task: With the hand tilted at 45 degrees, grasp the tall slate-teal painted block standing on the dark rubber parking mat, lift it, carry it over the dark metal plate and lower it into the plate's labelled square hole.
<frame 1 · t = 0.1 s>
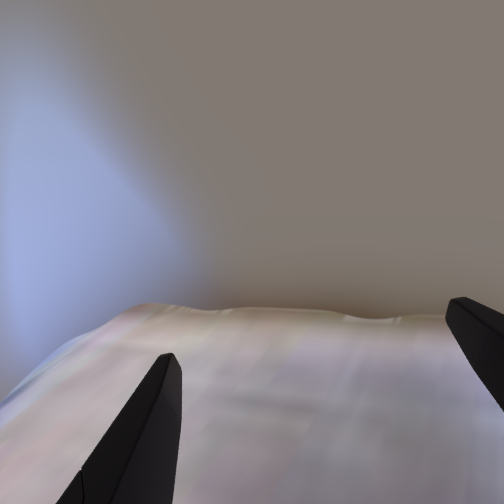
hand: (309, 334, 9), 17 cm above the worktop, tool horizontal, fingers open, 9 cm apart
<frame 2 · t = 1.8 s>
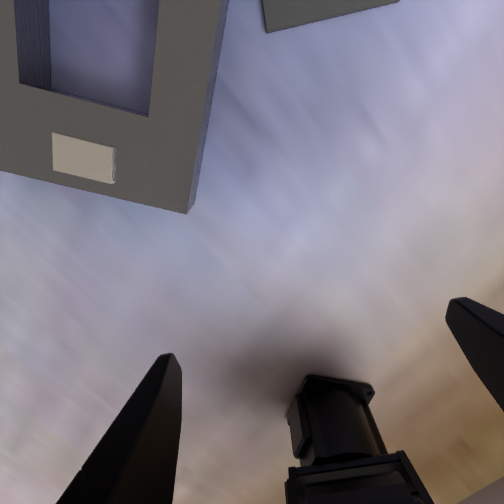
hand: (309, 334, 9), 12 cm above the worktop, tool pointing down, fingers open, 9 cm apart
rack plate: (110, 39, 16), on the worktop
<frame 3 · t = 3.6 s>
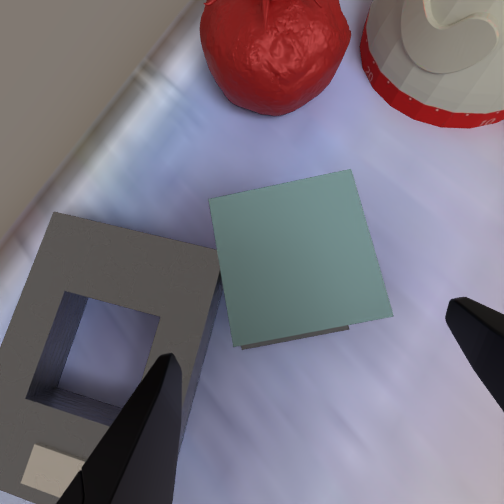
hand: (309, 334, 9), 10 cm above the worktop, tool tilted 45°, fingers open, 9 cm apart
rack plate: (116, 351, 20), on the worktop
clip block: (283, 285, 19), resting on parking mat
kitchen timer: (449, 51, 23), on the worktop
pomegranate: (273, 80, 23), on the worktop
parking mat: (283, 286, 20), on the worktop
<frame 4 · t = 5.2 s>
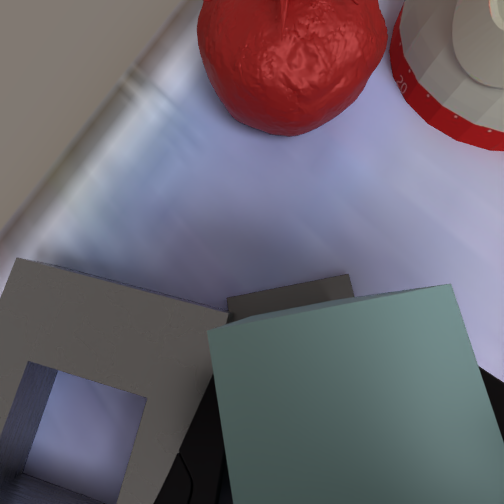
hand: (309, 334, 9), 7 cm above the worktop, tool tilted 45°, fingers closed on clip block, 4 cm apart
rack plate: (94, 428, 16), on the worktop
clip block: (300, 349, 16), resting on parking mat, touching gripper
kitchen timer: (498, 56, 19), on the worktop
pomegranate: (285, 90, 19), on the worktop
parking mat: (300, 348, 16), on the worktop
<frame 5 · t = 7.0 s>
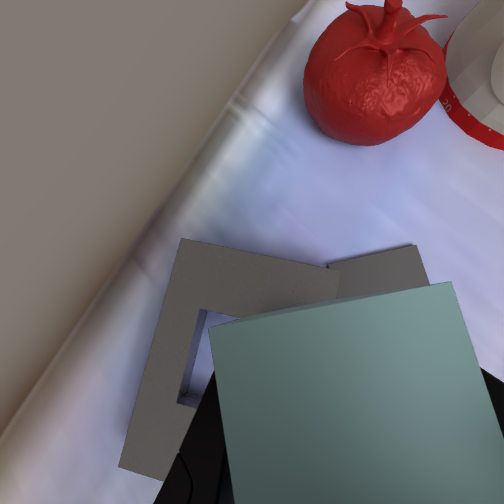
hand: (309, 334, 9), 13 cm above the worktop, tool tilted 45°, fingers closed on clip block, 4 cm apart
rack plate: (237, 359, 22), on the worktop
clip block: (301, 349, 16), point 7 cm above the worktop, touching gripper
pomegranate: (356, 111, 26), on the worktop
parking mat: (383, 298, 22), on the worktop
when the fingers open (9 cm above the worktop, at t = 8.9 s): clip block drops 2 cm, resting in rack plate.
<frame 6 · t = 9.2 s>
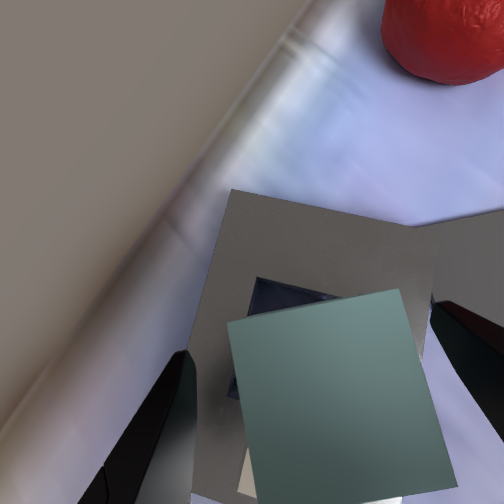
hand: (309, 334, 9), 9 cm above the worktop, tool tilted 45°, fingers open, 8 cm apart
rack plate: (297, 344, 18), on the worktop
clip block: (297, 343, 18), resting in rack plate
pomegranate: (439, 48, 21), on the worktop
parking mat: (483, 272, 18), on the worktop
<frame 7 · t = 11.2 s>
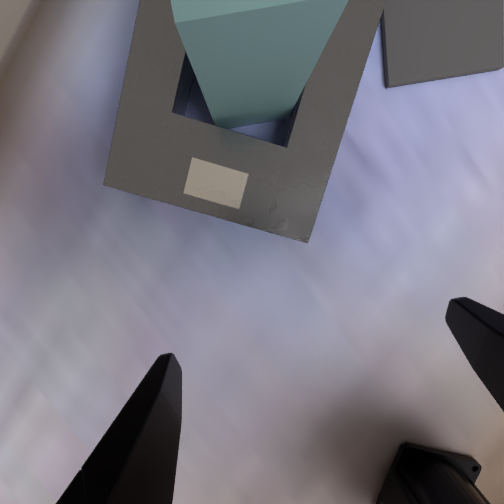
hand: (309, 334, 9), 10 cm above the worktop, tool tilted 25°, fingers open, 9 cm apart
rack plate: (246, 86, 18), on the worktop
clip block: (246, 85, 18), resting in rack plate
parking mat: (439, 16, 17), on the worktop
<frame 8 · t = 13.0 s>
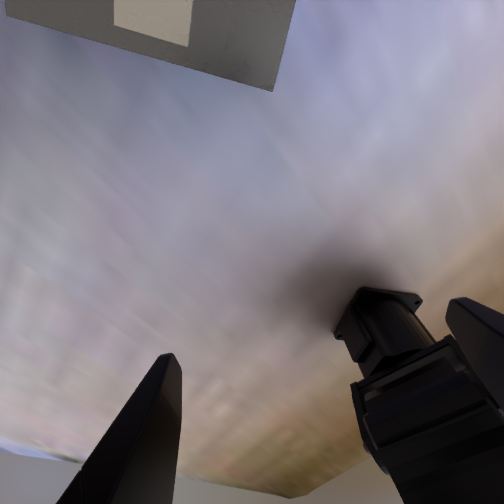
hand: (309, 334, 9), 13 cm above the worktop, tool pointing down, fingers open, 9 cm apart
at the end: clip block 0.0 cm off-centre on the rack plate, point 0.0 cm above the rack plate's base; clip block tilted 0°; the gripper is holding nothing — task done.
